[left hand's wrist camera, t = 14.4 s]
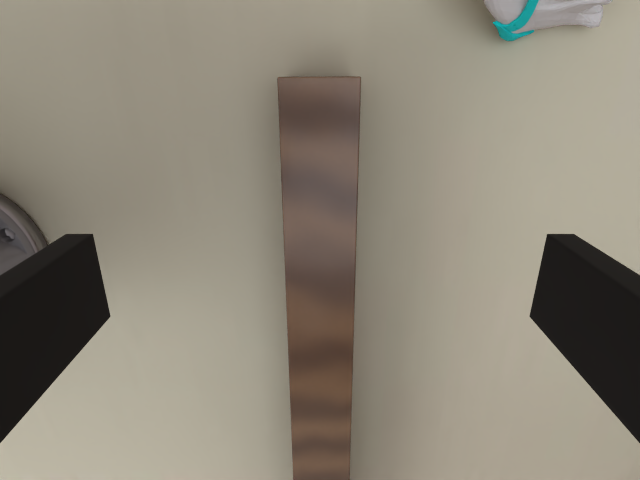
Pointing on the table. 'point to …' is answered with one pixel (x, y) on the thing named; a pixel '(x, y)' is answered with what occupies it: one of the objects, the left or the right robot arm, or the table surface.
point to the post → (320, 265)
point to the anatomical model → (542, 15)
